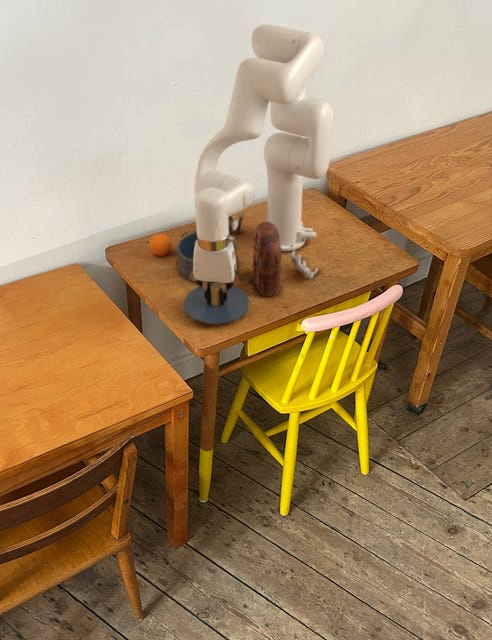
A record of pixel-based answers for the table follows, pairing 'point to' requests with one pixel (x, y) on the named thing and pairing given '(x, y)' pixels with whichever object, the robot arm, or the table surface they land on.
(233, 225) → the eagle figurine
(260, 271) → the wooden figurine
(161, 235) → the orange ball
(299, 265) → the soldier figure
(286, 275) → the table surface
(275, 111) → the robot arm
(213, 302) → the pan lid
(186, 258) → the dark blue round container
